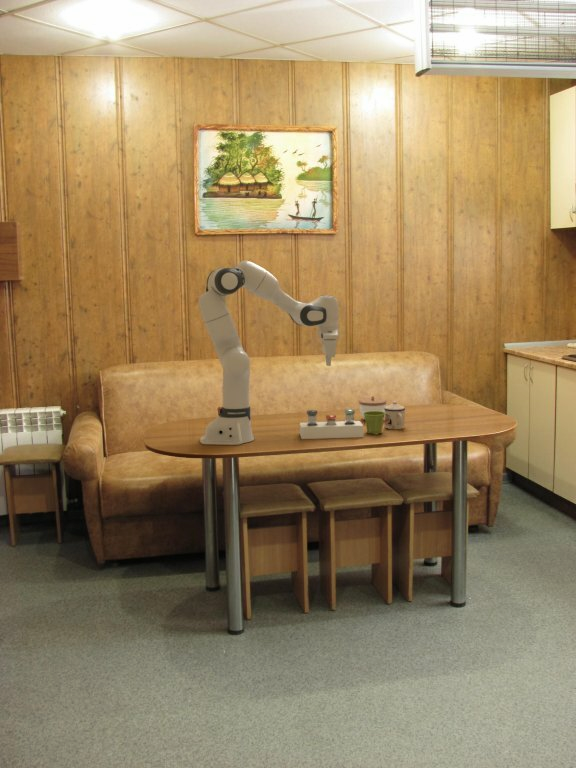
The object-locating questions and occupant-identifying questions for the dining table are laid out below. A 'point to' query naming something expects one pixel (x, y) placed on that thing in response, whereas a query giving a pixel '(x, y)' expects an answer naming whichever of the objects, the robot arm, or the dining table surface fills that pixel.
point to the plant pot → (374, 421)
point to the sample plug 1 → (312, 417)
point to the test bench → (331, 430)
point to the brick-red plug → (330, 419)
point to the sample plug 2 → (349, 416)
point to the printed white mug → (394, 416)
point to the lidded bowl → (372, 405)
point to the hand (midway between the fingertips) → (328, 365)
